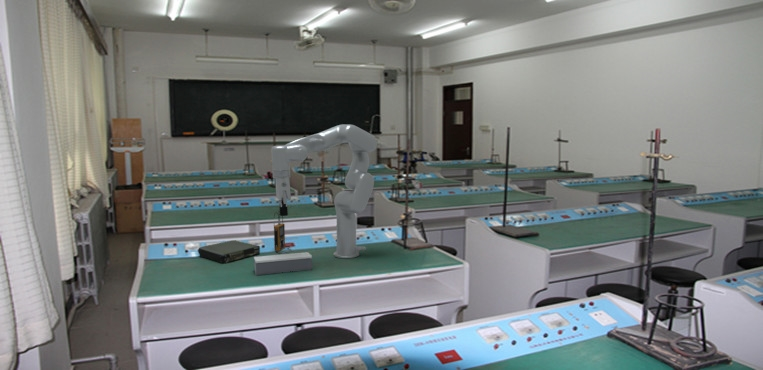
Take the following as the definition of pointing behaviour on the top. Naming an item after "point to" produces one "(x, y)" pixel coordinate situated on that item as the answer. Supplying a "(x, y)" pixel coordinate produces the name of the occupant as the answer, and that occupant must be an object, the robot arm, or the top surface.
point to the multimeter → (279, 235)
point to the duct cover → (282, 257)
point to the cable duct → (282, 266)
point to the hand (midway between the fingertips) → (283, 215)
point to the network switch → (228, 251)
